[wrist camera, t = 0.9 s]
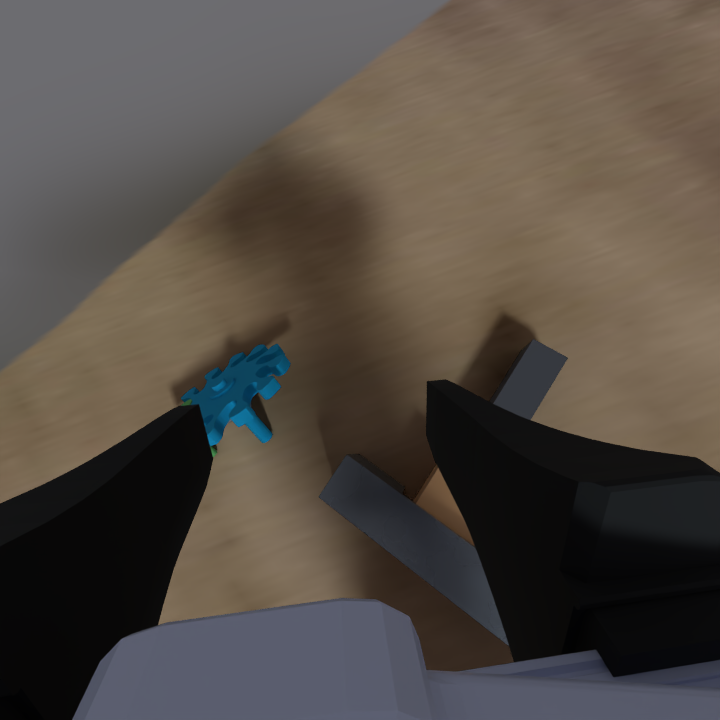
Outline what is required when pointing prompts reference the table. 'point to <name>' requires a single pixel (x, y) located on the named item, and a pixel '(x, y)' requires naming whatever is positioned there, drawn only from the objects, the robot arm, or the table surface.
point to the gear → (239, 392)
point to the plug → (513, 394)
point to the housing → (413, 537)
